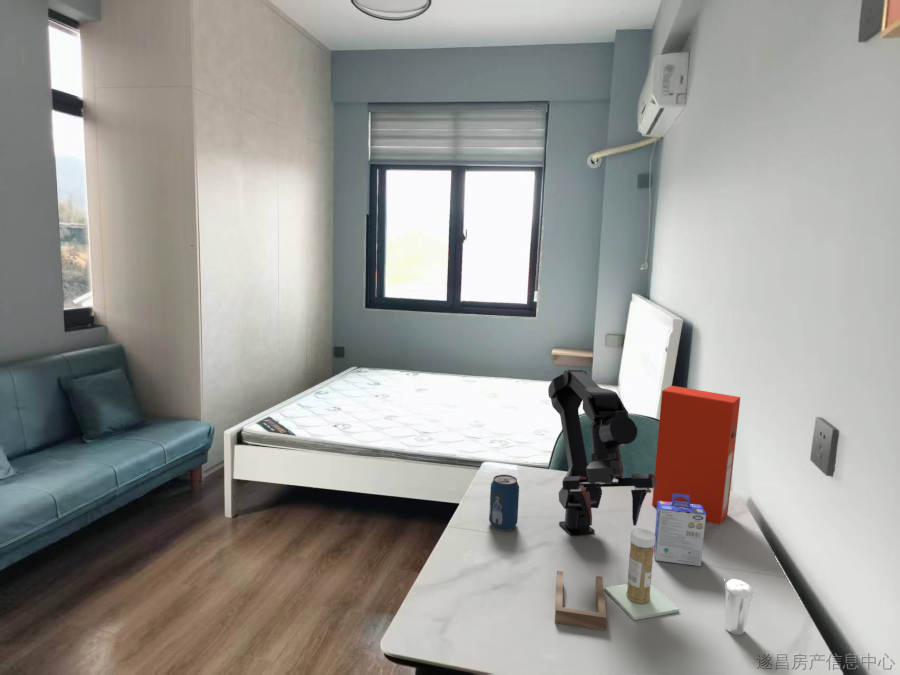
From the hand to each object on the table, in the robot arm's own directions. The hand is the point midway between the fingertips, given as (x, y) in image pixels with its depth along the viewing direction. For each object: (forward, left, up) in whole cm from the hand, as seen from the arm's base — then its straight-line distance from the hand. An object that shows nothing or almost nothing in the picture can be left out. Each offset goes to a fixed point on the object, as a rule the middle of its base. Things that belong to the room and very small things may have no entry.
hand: (612, 525), depth 123 cm
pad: (+10, +1, -11) cm, 15 cm away
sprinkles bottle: (+9, +1, -11) cm, 14 cm away
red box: (-22, +39, -11) cm, 46 cm away
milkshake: (+22, +12, -11) cm, 27 cm away
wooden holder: (+8, -11, -11) cm, 18 cm away
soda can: (-26, -13, -11) cm, 31 cm away
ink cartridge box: (-2, +19, -11) cm, 22 cm away
